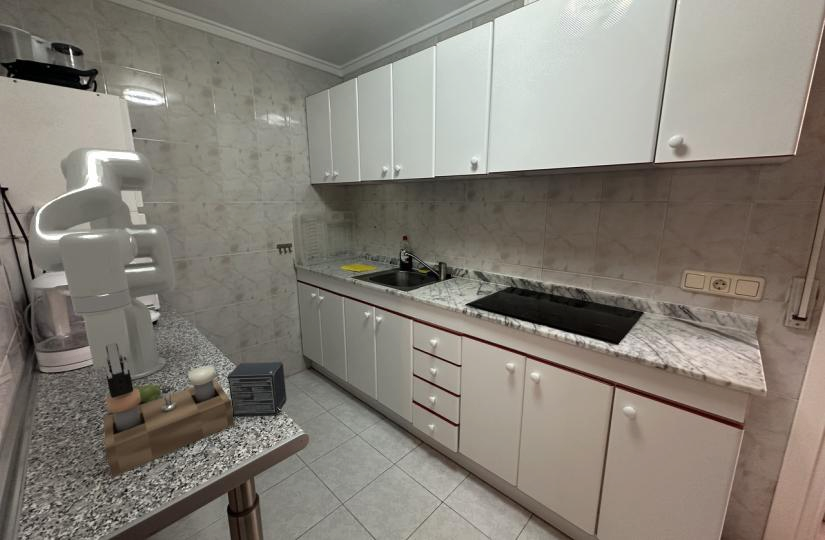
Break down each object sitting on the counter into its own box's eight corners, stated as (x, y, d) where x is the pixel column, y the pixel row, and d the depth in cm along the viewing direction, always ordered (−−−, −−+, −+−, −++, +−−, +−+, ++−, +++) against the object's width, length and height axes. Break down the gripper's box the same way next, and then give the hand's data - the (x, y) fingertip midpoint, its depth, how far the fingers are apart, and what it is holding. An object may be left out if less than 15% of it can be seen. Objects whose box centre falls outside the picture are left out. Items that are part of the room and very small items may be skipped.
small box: (288, 399, 80) (284, 360, 78) (278, 416, 74) (274, 374, 72) (245, 400, 80) (240, 361, 78) (231, 417, 74) (225, 375, 72)
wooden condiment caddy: (109, 442, 66) (103, 417, 65) (219, 401, 80) (215, 379, 78) (112, 477, 58) (105, 448, 56) (234, 424, 71) (230, 400, 70)
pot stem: (161, 408, 67) (157, 388, 66) (175, 403, 69) (172, 384, 68) (163, 413, 66) (159, 393, 65) (177, 408, 67) (174, 388, 66)
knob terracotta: (113, 429, 63) (105, 395, 62) (144, 418, 67) (137, 385, 65) (114, 442, 60) (106, 406, 58) (147, 429, 63) (140, 395, 62)
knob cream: (191, 401, 72) (186, 371, 71) (215, 392, 75) (211, 363, 74) (196, 411, 69) (191, 379, 67) (221, 401, 72) (216, 370, 71)
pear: (105, 387, 76) (158, 377, 84) (104, 409, 77) (157, 397, 84) (108, 396, 73) (163, 385, 80) (107, 419, 73) (162, 405, 80)
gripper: (74, 297, 61) (95, 385, 64) (70, 316, 50) (95, 420, 54) (127, 289, 66) (143, 372, 69) (133, 305, 55) (152, 401, 59)
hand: (122, 393), depth 62 cm, fingers closed
